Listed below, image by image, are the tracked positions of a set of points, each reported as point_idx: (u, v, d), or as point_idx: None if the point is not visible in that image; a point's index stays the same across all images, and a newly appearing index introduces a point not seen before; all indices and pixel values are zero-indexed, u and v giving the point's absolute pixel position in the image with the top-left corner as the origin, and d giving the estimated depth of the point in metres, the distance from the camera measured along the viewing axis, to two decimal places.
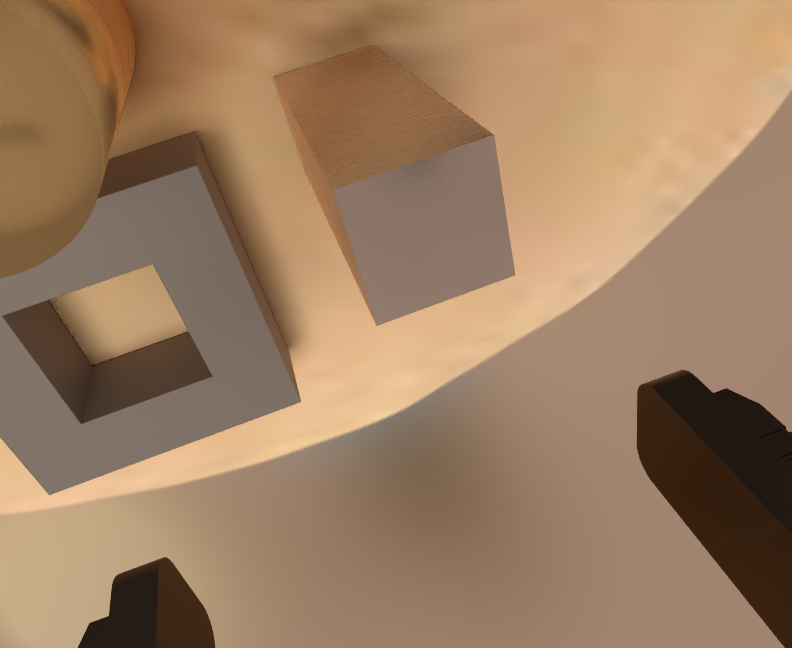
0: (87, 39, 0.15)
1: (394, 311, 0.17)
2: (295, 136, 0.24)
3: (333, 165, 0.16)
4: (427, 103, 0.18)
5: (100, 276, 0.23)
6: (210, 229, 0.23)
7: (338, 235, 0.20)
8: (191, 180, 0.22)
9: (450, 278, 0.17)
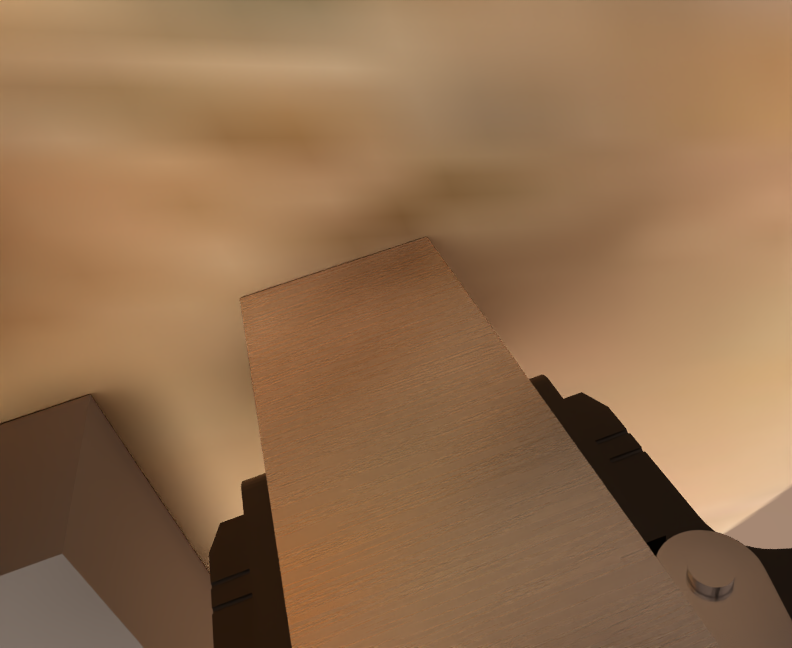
0: None
1: None
2: None
3: None
4: (628, 595, 0.07)
5: None
6: (101, 638, 0.11)
7: None
8: (52, 577, 0.10)
9: None
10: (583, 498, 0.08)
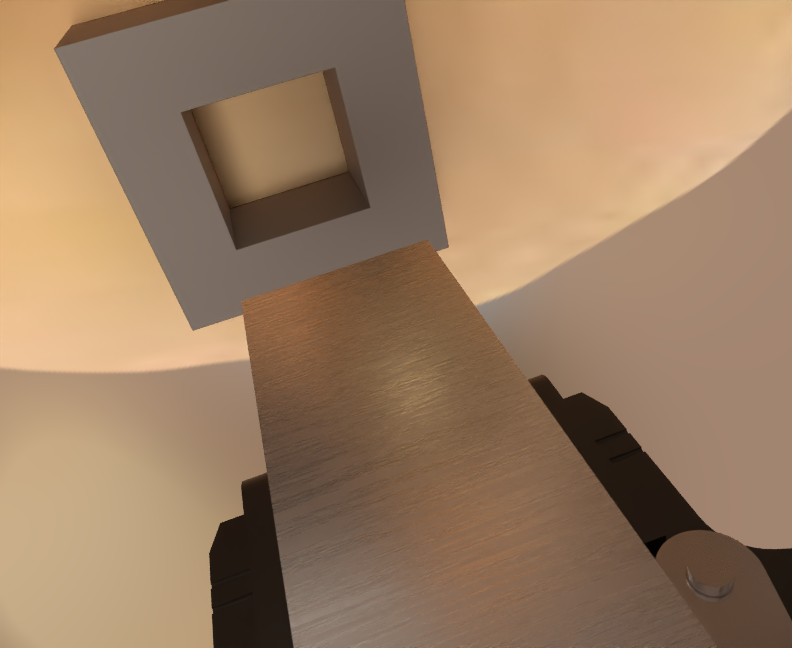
0: None
1: None
2: None
3: None
4: (628, 597, 0.07)
5: (282, 76, 0.22)
6: (396, 32, 0.22)
7: None
8: None
9: None
10: (583, 501, 0.08)
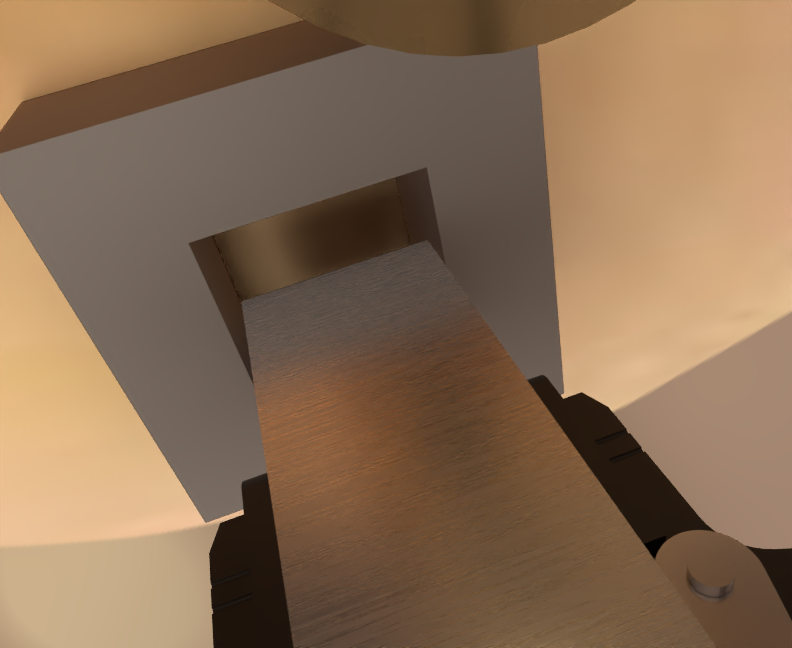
0: None
1: None
2: None
3: None
4: (628, 598, 0.07)
5: (346, 183, 0.14)
6: (522, 113, 0.14)
7: None
8: None
9: None
10: (583, 501, 0.08)
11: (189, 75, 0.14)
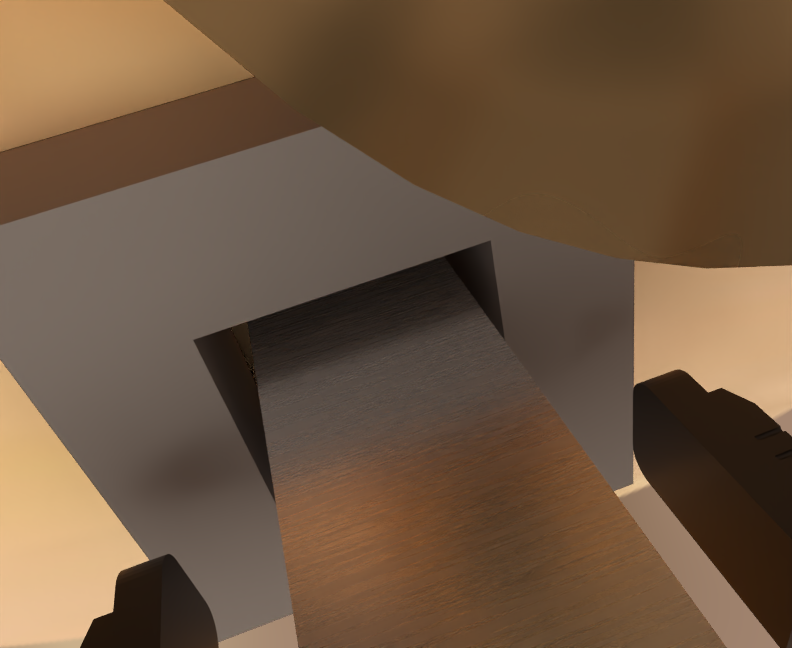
0: None
1: None
2: None
3: None
4: (548, 461, 0.08)
5: (391, 263, 0.11)
6: None
7: None
8: None
9: None
10: (519, 396, 0.09)
11: (194, 128, 0.11)
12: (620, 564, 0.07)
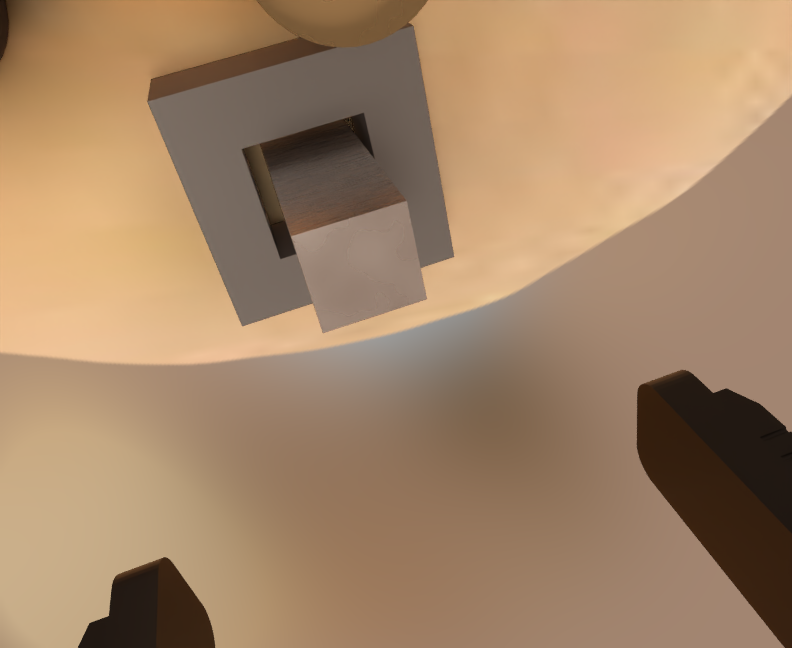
0: None
1: (336, 322, 0.24)
2: None
3: (293, 216, 0.23)
4: (367, 169, 0.25)
5: (322, 120, 0.28)
6: (413, 85, 0.28)
7: None
8: (407, 38, 0.27)
9: (377, 300, 0.24)
10: (364, 157, 0.26)
11: (242, 64, 0.27)
12: (379, 183, 0.23)
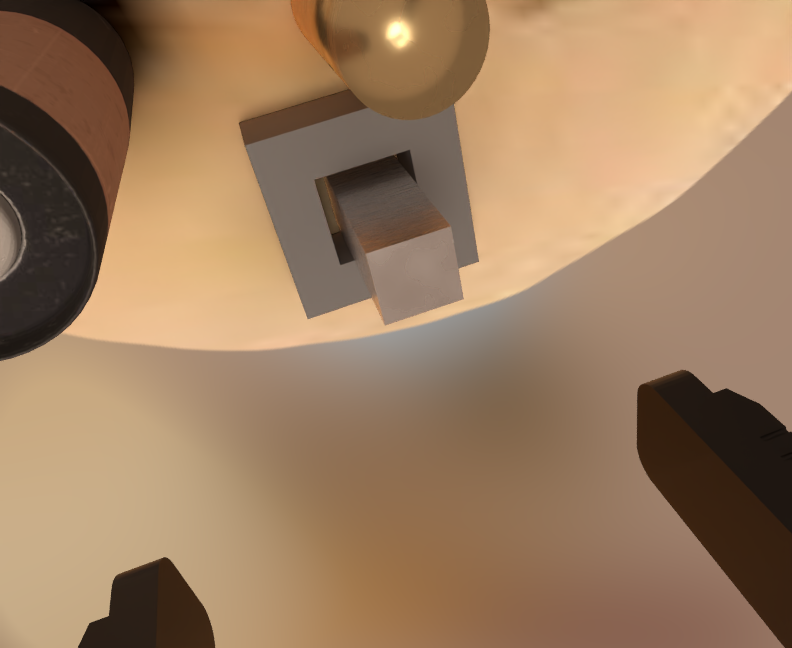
0: None
1: (395, 317, 0.31)
2: (333, 202, 0.38)
3: (364, 237, 0.30)
4: (417, 198, 0.32)
5: (377, 156, 0.35)
6: (449, 127, 0.35)
7: (362, 271, 0.34)
8: None
9: (426, 300, 0.31)
10: (412, 188, 0.33)
11: (314, 112, 0.35)
12: (428, 211, 0.31)
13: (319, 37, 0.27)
